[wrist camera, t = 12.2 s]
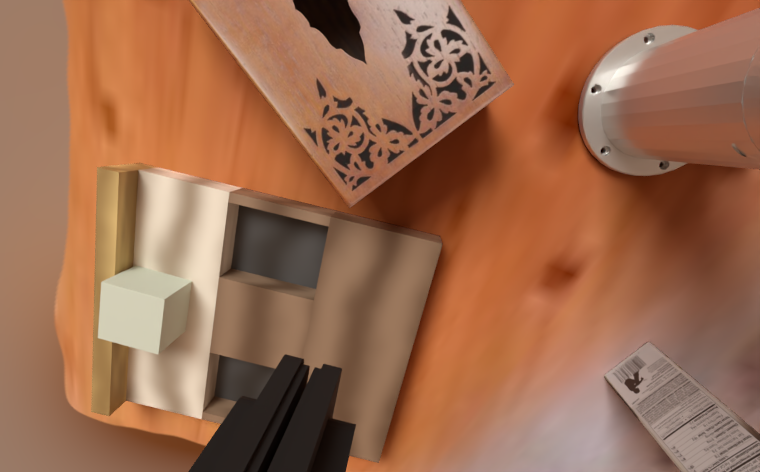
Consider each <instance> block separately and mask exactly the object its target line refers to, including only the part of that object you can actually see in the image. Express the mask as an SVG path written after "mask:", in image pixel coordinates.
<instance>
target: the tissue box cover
mask: <svg viewBox="0 0 760 472" xmlns="http://www.w3.org/2000/svg"><path fill="white" fill-rule="evenodd" d="M189 2H190V3H191V4H192V6H193V7H194V8H195V9H196V11H197V12H198V13H199V15H200V16H201V17H202V18H203V20H204V21H205V22H206V24H207V25H208V26H209V28H210V29H211V30H212V31H213V33H214V34H215V35H216V37H217V38H218V39H219V40H220V42H221V43H222V44H223V46H224V47H225V48H226V49H227V51H228V52H229V53H230V55H231V56H232V57H233V58H234V60H235V61H236V62H237V64H238V65H239V66H240V68H241V69H242V70H243V71H244V73H245V74H246V75H247V77H248V78H249V79H250V80H251V82H252V83H253V84H254V86H255V87H256V88H257V89H258V91H259V92H260V93H261V95H262V96H263V97H264V99H265V100H266V101H267V102H268V104H269V105H270V106H271V108H272V109H273V110H274V111H275V113H276V114H277V115H278V117H279V118H280V119H281V120H282V122H283V123H284V124H285V126H286V127H287V128H288V129H289V131H290V132H291V133H292V135H293V136H294V137H295V139H296V140H297V141H298V142H299V144H300V145H301V146H302V148H303V149H304V150H305V151H306V153H307V154H308V155H309V157H310V158H311V159H312V160H313V162H314V163H315V164H316V166H317V167H318V168H319V170H320V171H321V172H322V173H323V175H324V176H325V177H326V179H327V180H328V181H329V182H330V184H331V185H332V186H333V188H334V189H335V190H336V191H337V193H338V194H339V195H340V197H341V198H342V199H343V201H344V202H345V203H346V204H347V206H348V207H349V208H350V207H352V206H353V205H354V204H356V203H357V202H358V201H360V200H361V199H362V198H364V197H365V196H366V195H368V194H369V193H371V192H372V191H373V190H375V189H376V188H377V187H379V186H380V185H381V184H383V183H384V182H385V181H387V180H388V179H389V178H391V177H392V176H393V175H395V174H396V173H397V172H399V171H400V170H401V169H403V168H404V167H405V166H407V165H408V164H409V163H411V162H412V161H413V160H415V159H416V158H417V157H419V156H420V155H421V154H423V153H424V152H425V151H427V150H428V149H429V148H431V147H432V146H433V145H435V144H436V143H437V142H439V141H440V140H441V139H443V138H444V137H445V136H447V135H448V134H449V133H451V132H452V131H453V130H455V129H456V128H457V127H459V126H460V125H461V124H463V123H464V122H465V121H467V120H468V119H469V118H471V117H472V116H473V115H475V114H476V113H477V112H479V111H480V110H481V109H483V108H484V107H485V106H487V105H488V104H489V103H491V102H492V101H493V100H495V99H496V98H497V97H499V96H500V95H501V94H503V93H504V92H505V91H507V90H508V89H509V88H511V87H512V86H513V85H514V83H513V82H512V80H511V79H510V77H509V76H508V74H507V72H506V71H505V69H504V68H503V66H502V65H501V63H500V61H499V60H498V58H497V57H496V55H495V54H494V52H493V50H492V49H491V47H490V46H489V44H488V43H487V41H486V39H485V38H484V36H483V35H482V33H481V32H480V30H479V28H478V27H477V25H476V24H475V22H474V21H473V19H472V17H471V16H470V14H469V13H468V11H467V10H466V8H465V6H464V5H463V3H462V2H461V0H189Z"/></svg>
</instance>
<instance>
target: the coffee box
mask: <svg viewBox="0 0 760 472" xmlns="http://www.w3.org/2000/svg"><path fill="white" fill-rule="evenodd" d="M604 377H605V379H606V380H607V381H608V383H609V384H610V385H611V386H612V387H613V389H614V390H615V391H616V392H617V394H618V395H619V396H620V397H621V398H622V400H623V401H624V402H625V403H626V405H627V406H628V407H629V408H630V410H631V411H632V412H633V413H634V415H635V416H636V417H637V418H638V420H639V421H640V422H641V423H642V425H643V426H644V427H645V428H646V430H647V431H648V432H649V433H650V434H651V436H652V437H653V438H654V439H655V441H656V442H657V443H658V444H659V446H660V447H661V448H662V449H663V450H664V452H665V453H666V454H667V455H668V457H669V458H670V459H671V460H672V462H673V463H674V464H675V465H676V467H677V468H678V469H679V470H680V471H681V472H760V434H759V433H758V432H757V431H755V430H754V429H753V428H752V427H751V426H750V425H748V424H747V423H746V422H745V421H744V420H742V419H741V418H740V417H739V416H738V415H737V414H735V413H734V412H733V411H732V410H731V409H729V408H728V407H727V406H726V405H725V404H724V403H722V402H721V401H720V400H719V399H718V398H716V397H715V396H714V395H713V394H712V393H710V392H709V391H708V390H707V389H706V388H704V387H703V386H702V385H701V384H700V383H698V382H697V381H696V380H695V379H694V378H692V377H691V376H690V375H689V374H688V373H687V372H685V371H684V370H683V369H682V368H681V367H679V366H678V365H677V364H676V363H675V362H673V361H672V360H671V359H670V358H669V357H667V356H666V355H665V354H664V353H663V352H661V351H660V350H659V349H658V348H657V347H655V346H654V345H653V344H652V343H650V342H647V343H646V344H644V345H643V346H642V347H641V348H639V349H638V350H637V351H635V352H634V353H633V354H631V355H630V356H629V357H627V358H626V359H625V360H624V361H622V362H621V363H620V364H618V365H617V366H616V367H614V368H613V369H612V370H611V371H609V372H608V373H607V374H605V376H604Z"/></svg>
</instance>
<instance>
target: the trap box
mask: <svg viewBox="0 0 760 472" xmlns="http://www.w3.org/2000/svg"><path fill="white" fill-rule="evenodd" d="M441 248H442V241H441V238H440V236H438V235H434V234H430V233H426V232H422V231H418V230H413V229H409V228H405V227H401V226H397V225H393V224H389V223H385V222H381V221H376V220H372V219H368V218H364V217H360V216H356V215H352V214H348V213H344V212H339V211H335V210H331V209H327V208H323V207H319V206H315V205H311V204H307V203H302V202H298V201H294V200H290V199H286V198H282V197H278V196H274V195H270V194H265V193H261V192H257V191H253V190H249V189H245V188H241V187H237V186H233V185H228V184H224V183H220V182H216V181H212V180H208V179H204V178H200V177H196V176H191V175H187V174H183V173H179V172H175V171H171V170H167V169H163V168H158V167H154V166H150V165H146V164H142V163H134V164H124V165H114V166H104V167H97V201H96V243H95V284H94V326H93V368H92V410H91V412H94V413H98V414H102V415H106V416H110V415H111V414H112V413H113V412H114V411H115V410H116V409H117V408H119V407H120V406H121V405H122V404H123V403H124V402H125V401H130V402H134V403H138V404H142V405H146V406H150V407H154V408H158V409H162V410H167V411H171V412H175V413H179V414H183V415H187V416H191V417H195V418H199V419H203V420H207V421H211V422H215V423H219V424H222V422H223V421H224V419H225V418H226V416H227V415H228V413H229V412H230V411H231V409H232V408H233V406H234V405H235V403H236V402H237V401H238V399H239V398H240V397H242V396H246V397H250V398H254V399H257V398H258V397H259V395H260V393H261V392H262V390H263V388H264V387H265V385H266V384H267V382H268V380H269V379H270V377H271V375H272V374H273V372H274V371H275V369H276V367H277V366H278V364H279V362H280V361H281V359H282V358H283V356H284V355H285V354H286V355H291V356H295V357H299V358H303V359H304V364H305V365H309V366H310V369H309V375H308V381H309V379H310V376H311V374H312V372H313V370H314V368H315V367H317V368H322V366H323V364H327V365H331V366H335V367H339V368H342V373H341V378H340V383H339V388H338V393H337V398H336V403H335V408H334V413H333V419H337V420H341V421H345V422H349V423H352V424H356V427H355V432H354V436H353V441H352V445H351V449H350V454H349V456H353V457H357V458H361V459H365V460H369V461H373V462H377V463H379V460H380V457H381V454H382V450H383V447H384V443H385V440H386V436H387V433H388V430H389V426H390V423H391V419H392V416H393V412H394V409H395V406H396V402H397V399H398V395H399V392H400V388H401V385H402V382H403V378H404V375H405V371H406V368H407V364H408V361H409V358H410V354H411V351H412V347H413V344H414V340H415V337H416V334H417V330H418V327H419V323H420V320H421V316H422V313H423V309H424V306H425V303H426V299H427V296H428V292H429V289H430V285H431V282H432V279H433V275H434V272H435V268H436V265H437V261H438V258H439V255H440V251H441ZM134 266H140V267H144V268H147V269H151V270H155V271H158V272H162V273H166V274H169V275H173V276H176V277H180V278H184V279H187V280H191V281H192V286H191V293H190V301H189V308H188V315H187V322H186V330H185V332H184V333H182V334H181V335H180V336H179V337H178V338H177V339H176V340H174V341H173V342H172V343H171V344H170V345H169V346H168V347H166V348H165V349H164V350H163V351H162V352H161V353H160V354H159V355H158V354H154V353H150V352H147V351H143V350H140V349H136V348H132V347H129V346H125V345H121V344H118V343H114V342H110V341H107V340H103V339H100V338H98V326H99V311H100V295H101V282H102V281H104V280H106V279H108V278H110V277H113V276H115V275H117V274H119V273H121V272H123V271H125V270H127V269H129V268H131V267H134ZM308 381H307V383H308Z"/></svg>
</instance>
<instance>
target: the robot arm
mask: <svg viewBox="0 0 760 472" xmlns="http://www.w3.org/2000/svg"><path fill="white" fill-rule="evenodd" d="M644 39H645V42H644ZM591 88H593V89H594V92H593V93H592V92H591ZM578 122H579V127H580V133H581V136H582V138H583V141H584V143H585V145H586V147H587V148H588V150H589V151H590V153H591V154H592V155H593V156H594V157H595V158H596V159H597V160H598V161H599V162H600V163H601V164H603V165H605V166H606V167H608V168H610V169H612V170H614V171H617V172H620V173H623V174H629V175H635V176H651V175H659V174H663V173H666V172H670V171H673V170H675V169H677V168H679V167H681V166H683V165H685V164H687V163H694V164H705V165H716V166H727V167H738V168H749V169H760V8H758V9H755V10H753V11H750V12H747V13H744V14H742V15H739V16H736V17H734V18H731V19H728V20H725V21H723V22H720V23H717V24H715V25H712V26H709V27H706V28H704V29H701V30H696V29H693V28H690V27H686V26H679V25H666V26H657V27H654V28H650V29H646V30H643V31H641V32H638V33H636V34H634V35H632V36H630V37H628V38H626V39H625V40H623V41H621V42H619V43H618V44H616V45H615V46H614V47H613V48H612V49H610V50H609V51H608V52H607V53H606V54H605V55H604V56H603V57H602V58H601V59H600V60H599V62H598V63H597V64H596V65H595V66H594V68H593V70H592V71H591V73H590V75H589V76H588V78H587V80H586V82H585V85H584V87H583V90H582V92H581V97H580V102H579V109H578ZM602 148H603V152H602V153H601V149H602ZM659 164H660V166H659ZM309 369H310V366H309V365H305V364H304V359H303V358H299V357H295V356H291V355H286V354H285V355H284V356H283V358H282V359H281V361H280V362H279V364H278V366H277V367H276V369H275V371H274V372H273V374H272V375H271V377H270V379H269V380H268V382H267V384H266V385H265V387H264V388H263V390H262V392H261V393H260V395H259V397H258V398H257V399H254V398H250V397H246V396H242V397H240V398H239V399H238V401H237V402H236V403H235V405H234V406H233V408H232V409H231V411H230V412H229V413H228V415H227V416H226V418H225V419H224V421H223V422H222V424H221V425H220V427H219V428H218V430H217V431H216V432H215V434H214V435H213V437H212V438H211V440H210V441H209V443H208V444H207V446H206V447H205V448H204V450H203V451H202V453H201V454H200V456H199V457H198V459H197V460H196V462H195V463H194V465H193V466H192V467H191V469H190V470H189V472H346V467H347V463H348V458H349V454H350V449H351V445H352V441H353V436H354V432H355V427H356V424H352V423H349V422H345V421H341V420H337V419H333V413H334V408H335V403H336V398H337V393H338V388H339V383H340V378H341V373H342V368H339V367H335V366H331V365H327V364H323V366H322V368H317V367H315V368H314V370H313V372H312V374H311V376H310V379H309V381H308V375H309ZM307 381H308V383H307Z"/></svg>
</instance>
